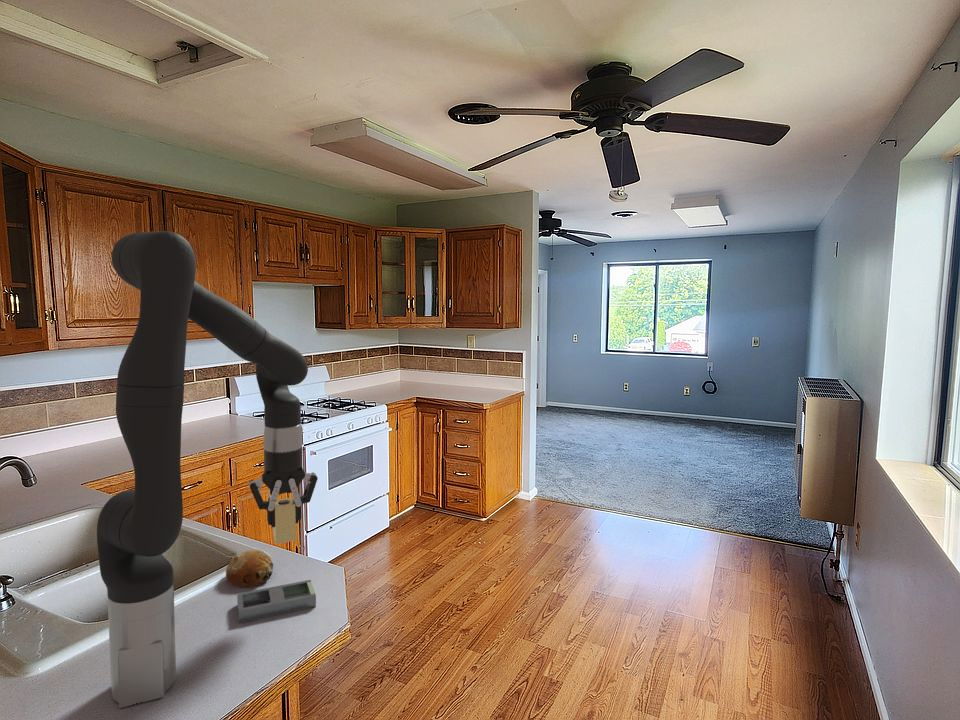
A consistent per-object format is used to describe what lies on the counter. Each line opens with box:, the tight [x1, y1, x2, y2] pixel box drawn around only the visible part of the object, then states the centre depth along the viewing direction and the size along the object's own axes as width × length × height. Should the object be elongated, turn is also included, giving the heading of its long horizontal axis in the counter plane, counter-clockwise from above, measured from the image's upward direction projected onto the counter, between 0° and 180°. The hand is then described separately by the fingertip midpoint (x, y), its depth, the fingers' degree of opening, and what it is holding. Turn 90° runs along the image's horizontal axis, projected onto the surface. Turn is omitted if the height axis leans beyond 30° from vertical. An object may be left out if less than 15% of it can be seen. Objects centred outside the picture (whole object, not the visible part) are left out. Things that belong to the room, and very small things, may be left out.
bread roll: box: [225, 548, 274, 588], centre depth 126 cm, size 10×10×8 cm
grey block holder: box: [236, 579, 317, 624], centre depth 115 cm, size 7×15×2 cm, turn 116°
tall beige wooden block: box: [272, 497, 297, 545], centre depth 114 cm, size 4×4×8 cm
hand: (284, 523), depth 114 cm, fingers closed on tall beige wooden block, 4 cm apart
